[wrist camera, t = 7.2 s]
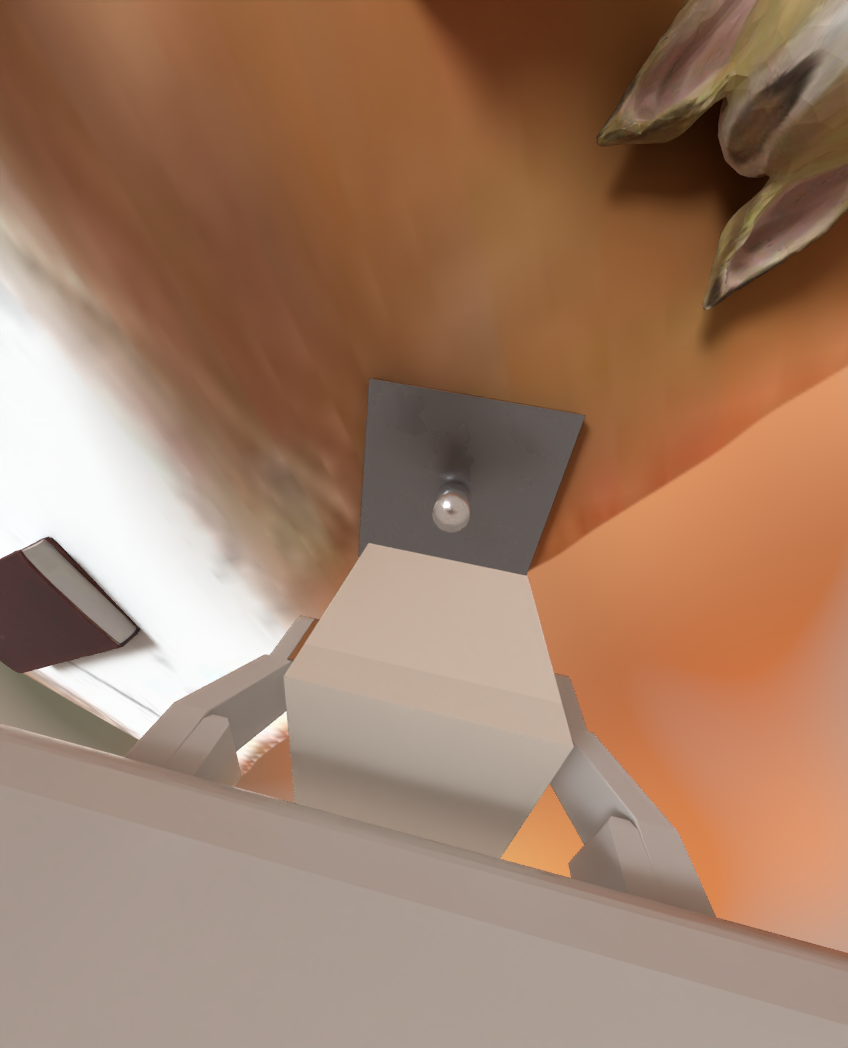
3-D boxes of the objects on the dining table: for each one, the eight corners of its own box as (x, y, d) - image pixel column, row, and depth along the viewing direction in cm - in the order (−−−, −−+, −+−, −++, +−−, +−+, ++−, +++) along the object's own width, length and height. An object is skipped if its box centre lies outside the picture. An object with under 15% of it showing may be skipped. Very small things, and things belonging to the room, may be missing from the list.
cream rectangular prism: (360, 652, 13) (295, 809, 8) (368, 542, 10) (283, 676, 6) (487, 683, 12) (496, 864, 8) (527, 576, 10) (573, 746, 5)
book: (147, 629, 38) (116, 653, 35) (47, 656, 44) (13, 679, 41) (58, 532, 33) (12, 549, 30) (-41, 578, 39) (-87, 596, 36)
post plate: (362, 549, 27) (343, 579, 23) (374, 378, 21) (350, 378, 17) (518, 582, 26) (526, 619, 22) (579, 413, 20) (606, 422, 16)
